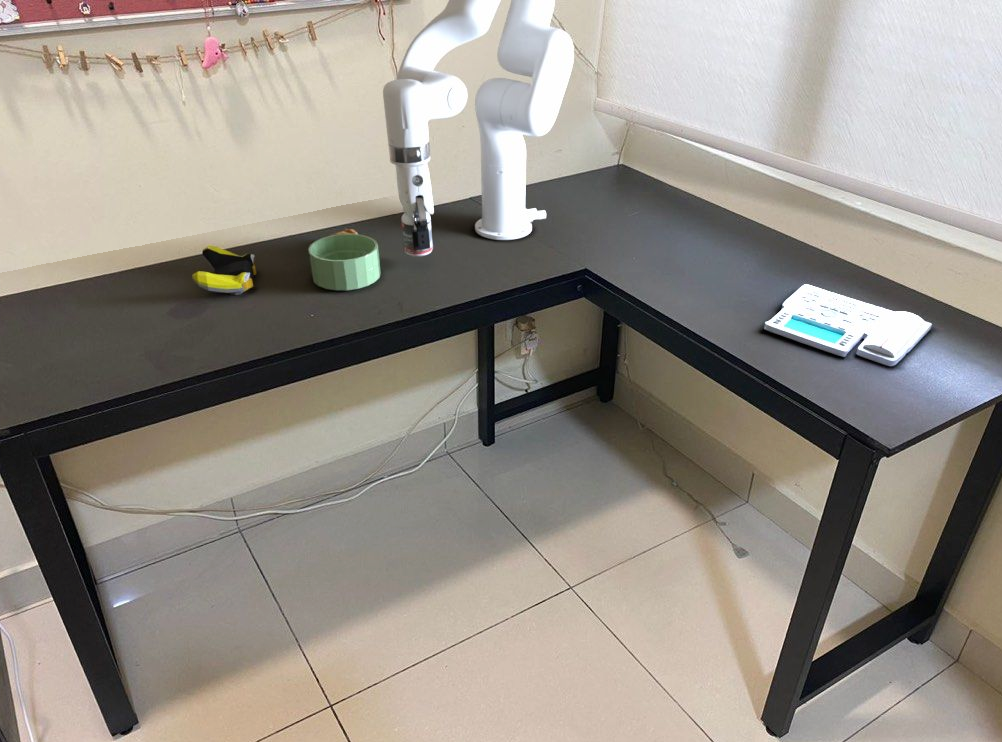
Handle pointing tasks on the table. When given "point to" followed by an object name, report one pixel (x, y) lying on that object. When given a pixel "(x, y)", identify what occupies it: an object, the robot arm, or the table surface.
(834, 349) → the office telephone
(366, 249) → the green bowl
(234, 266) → the gaming controller
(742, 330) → the table surface
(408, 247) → the pill bottle
